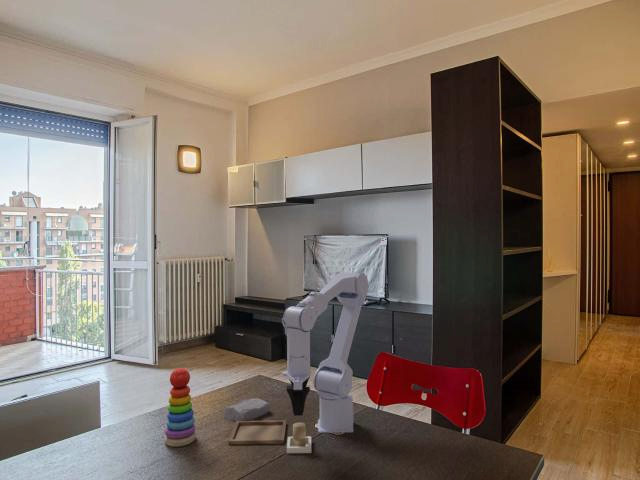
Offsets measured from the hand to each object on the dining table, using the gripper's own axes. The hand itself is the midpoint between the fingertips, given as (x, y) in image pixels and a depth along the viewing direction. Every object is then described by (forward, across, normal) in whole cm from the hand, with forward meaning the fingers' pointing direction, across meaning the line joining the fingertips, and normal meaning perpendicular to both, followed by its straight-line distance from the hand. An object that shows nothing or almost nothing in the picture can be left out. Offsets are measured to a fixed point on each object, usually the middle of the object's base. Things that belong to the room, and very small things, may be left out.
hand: (298, 408), depth 108 cm
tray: (+10, -8, -11) cm, 17 cm away
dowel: (+10, 0, 0) cm, 10 cm away
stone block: (+10, -21, -16) cm, 29 cm away
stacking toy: (+10, -5, -31) cm, 33 cm away
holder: (+10, 0, 0) cm, 10 cm away
